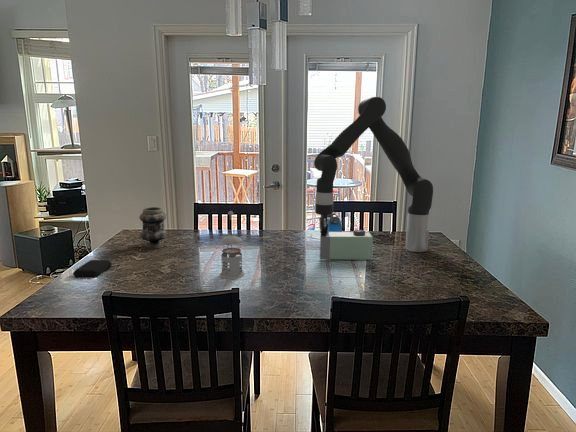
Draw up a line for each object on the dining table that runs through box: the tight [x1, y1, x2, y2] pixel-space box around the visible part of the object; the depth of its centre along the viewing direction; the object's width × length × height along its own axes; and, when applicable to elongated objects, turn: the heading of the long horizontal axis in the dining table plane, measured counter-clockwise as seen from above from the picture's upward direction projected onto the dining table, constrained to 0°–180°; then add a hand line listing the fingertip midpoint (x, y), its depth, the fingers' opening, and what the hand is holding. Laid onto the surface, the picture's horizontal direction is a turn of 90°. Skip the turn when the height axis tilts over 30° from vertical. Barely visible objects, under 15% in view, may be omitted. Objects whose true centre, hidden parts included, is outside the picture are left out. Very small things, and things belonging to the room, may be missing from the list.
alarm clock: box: [326, 212, 343, 236], centre depth 202 cm, size 13×6×15 cm, turn 5°
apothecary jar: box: [139, 206, 168, 250], centre depth 198 cm, size 12×12×18 cm
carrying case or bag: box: [72, 259, 113, 279], centre depth 166 cm, size 11×3×15 cm
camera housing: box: [329, 229, 372, 236], centre depth 185 cm, size 18×8×12 cm, turn 88°
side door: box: [319, 235, 374, 261], centre depth 180 cm, size 22×1×10 cm, turn 90°
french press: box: [219, 210, 246, 280], centre depth 162 cm, size 10×12×25 cm
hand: (323, 241), depth 183 cm, fingers closed
